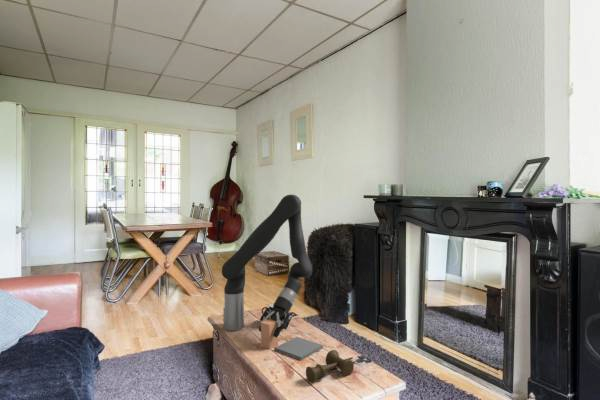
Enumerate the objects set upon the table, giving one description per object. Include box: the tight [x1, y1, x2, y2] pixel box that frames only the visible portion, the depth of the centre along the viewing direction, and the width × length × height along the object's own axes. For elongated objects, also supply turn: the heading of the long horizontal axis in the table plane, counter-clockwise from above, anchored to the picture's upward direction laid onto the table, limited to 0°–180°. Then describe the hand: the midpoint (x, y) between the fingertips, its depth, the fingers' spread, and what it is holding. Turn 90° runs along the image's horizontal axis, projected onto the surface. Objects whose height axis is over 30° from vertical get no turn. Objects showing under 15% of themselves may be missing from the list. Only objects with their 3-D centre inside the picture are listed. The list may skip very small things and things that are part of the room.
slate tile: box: [274, 336, 324, 361], centre depth 138 cm, size 14×14×1 cm
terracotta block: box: [260, 319, 279, 350], centre depth 142 cm, size 5×5×10 cm
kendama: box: [305, 349, 355, 384], centre depth 119 cm, size 6×10×20 cm
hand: (267, 334), depth 141 cm, fingers open, 8 cm apart
